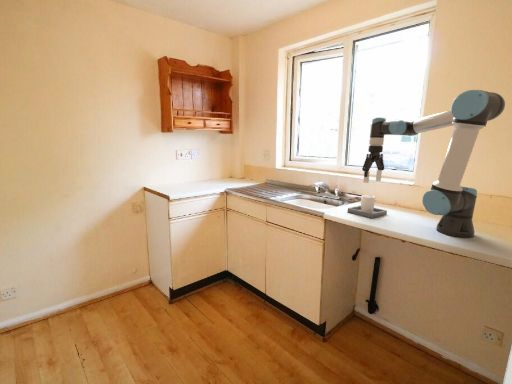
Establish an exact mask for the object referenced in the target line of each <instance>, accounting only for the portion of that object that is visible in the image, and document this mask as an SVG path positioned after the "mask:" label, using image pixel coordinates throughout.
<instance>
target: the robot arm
mask: <svg viewBox="0 0 512 384" xmlns="http://www.w3.org/2000/svg"><path fill="white" fill-rule="evenodd" d="M505 106H506V101H505V98H504V97H503V96H502V95H501V94H500V93H497V92H492V91H491V92H490V91H486V90H482V89H469V90H466V91H463V92H461V93H460V94H458V95H457V96H456V97H455V98H454V99H453V101H452V103H451V105H450V110H446V111H442V112H438V113H435V114H431V115H427V116H423V117H421V118H417V119H414V120H410V121H409V120H408V121H405V120H403V119H395V120H387V119H386V118H387V117H373V118H372V119H371V124H370V131H369V140H368V141H369V143H368V145H369V146H368V153H367V154H366V155H365V156H366V157H365V160H364V163H363V166H362V168H361V169H362V172H363V183H366V184H369V181H370V174H371V173H370V169H371V167H372V166H373V163H375V165H376V176H375V182H382V173H383V172H382V171H384V170H385V162H384V153H383V149H384V147H383V145H384V140H385V139H384V138H385V136H387V135H388V136H392V135H393V136H409V137H412V136H417V135H418V134H420V133H426V132H429V131H434V130H439V129H444V128H448V127H454V129H453V132H452V136H451V138H450V141H449V144H448V147H447V150H446V153H445V157H444V160H443V163H442V166H441V169H440V171H439V175H438V177H437V180H435V181H433V182H432V184H431V187H430V189H429V190H427V191H426V192H425V193H424V194H423V196H422V205H423V207H424V208H425V210H426V212H427V213H429V214H431V215H434V216H441V217H440V220H439V221H438V223H437V224H436V228H435V229H436V231H437V232H439V233H441V234H444V235H447V236H451V237H455V238H465V239H467V238H473V237H474V236H475V227H474V223H473V222H474V221H473V217H474V211H475V207H476V202H477V198H478V196H477V195H478V190H477V189H476V188H474V187H467V186H461V183H462V182H463V181H462V180H463V178H464V176H465V172H466V169H467V167H468V164H469V161H470V159H471V158H470V157H471V155H472V152H473V149H474V147H475V144H476V141H477V138H478V135H479V133H480V130H482V129H484V128H485V127H486V126H487V123H488V122H489V121H492V120H494V119H497V118H498V117H499V116H501V114H503V112H504V110H505Z"/></svg>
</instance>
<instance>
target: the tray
mask: <svg viewBox="0 0 512 384" xmlns="http://www.w3.org/2000/svg"><path fill="white" fill-rule="evenodd" d="M347 213H350V214H353V215H356V216H361V217H364V218H368V219H376V218H379V217H382V216H383V217H384V216H386V215H387V213H388V210H385V209H383V208H382V209H381V208H377V207H374V209H373V213H372V214H371V213H367V212H363V211H361V204H360V205H357V206H356V205H355V206H352V207H348V208H347Z"/></svg>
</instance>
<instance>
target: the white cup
mask: <svg viewBox="0 0 512 384" xmlns="http://www.w3.org/2000/svg"><path fill="white" fill-rule="evenodd" d="M360 198H361V199H360V201H361V202H360V205H361V211H363V212H367V213H371V214H372V213H373V209H374V208H375V204H376V198H377V197H376V196H375V195H371V194H370V195H369V194H362V195H361V197H360Z"/></svg>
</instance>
